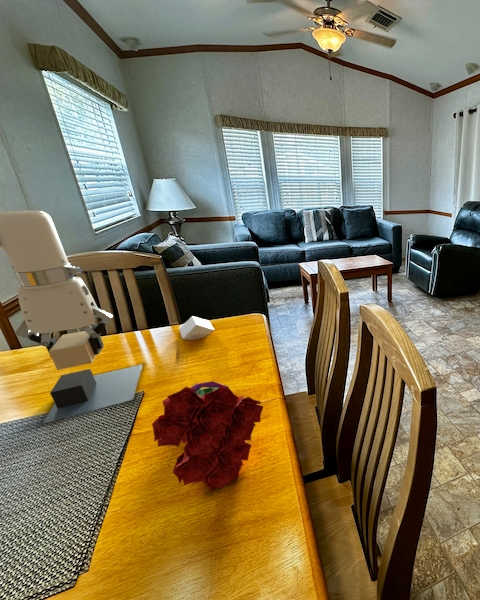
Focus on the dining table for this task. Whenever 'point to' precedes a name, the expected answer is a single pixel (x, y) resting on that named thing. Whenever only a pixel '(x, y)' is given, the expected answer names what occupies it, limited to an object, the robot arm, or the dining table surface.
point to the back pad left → (73, 388)
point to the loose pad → (72, 350)
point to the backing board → (102, 393)
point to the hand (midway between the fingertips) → (79, 354)
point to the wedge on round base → (195, 328)
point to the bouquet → (208, 432)
